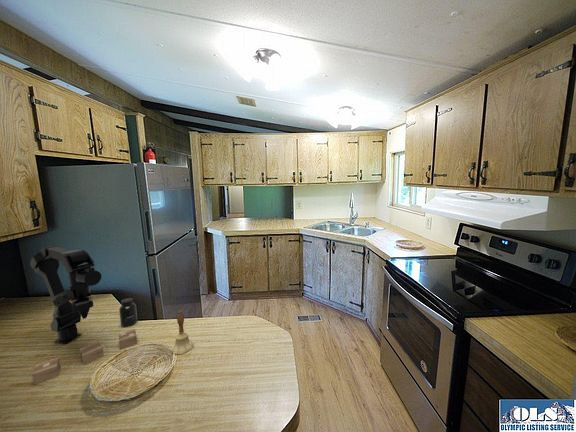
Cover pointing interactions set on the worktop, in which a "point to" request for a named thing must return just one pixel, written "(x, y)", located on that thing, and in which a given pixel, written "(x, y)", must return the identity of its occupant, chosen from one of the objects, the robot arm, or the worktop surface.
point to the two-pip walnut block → (127, 339)
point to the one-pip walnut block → (46, 370)
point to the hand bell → (182, 337)
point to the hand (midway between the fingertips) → (84, 318)
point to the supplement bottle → (128, 312)
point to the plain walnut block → (91, 352)
